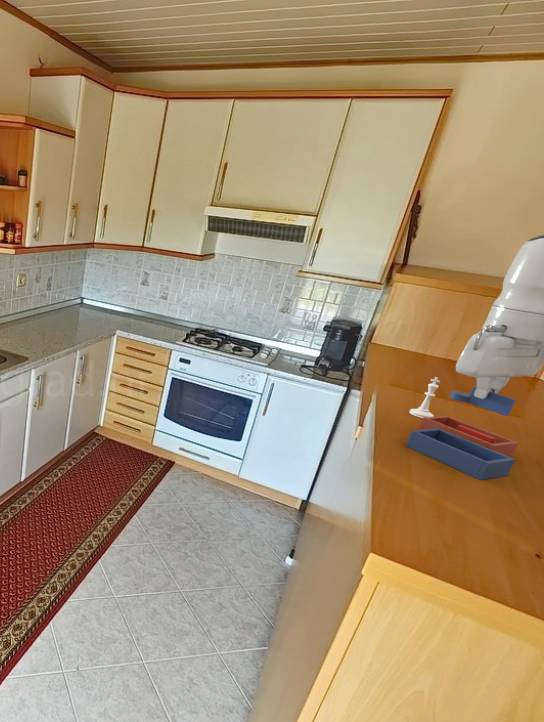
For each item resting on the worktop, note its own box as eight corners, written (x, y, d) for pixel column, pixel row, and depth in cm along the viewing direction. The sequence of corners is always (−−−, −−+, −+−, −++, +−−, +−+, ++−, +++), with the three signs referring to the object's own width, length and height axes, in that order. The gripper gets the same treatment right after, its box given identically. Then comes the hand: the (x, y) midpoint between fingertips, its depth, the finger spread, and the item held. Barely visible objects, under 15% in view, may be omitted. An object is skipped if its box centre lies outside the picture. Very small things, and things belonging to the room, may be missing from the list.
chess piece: (407, 409, 124) (422, 372, 120) (430, 414, 122) (446, 377, 119) (411, 415, 120) (427, 377, 116) (435, 421, 118) (452, 382, 114)
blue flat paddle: (512, 415, 90) (520, 399, 89) (501, 416, 88) (509, 400, 87) (455, 395, 98) (462, 381, 97) (445, 396, 96) (452, 381, 95)
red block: (492, 451, 102) (498, 437, 101) (482, 452, 101) (489, 438, 100) (443, 431, 110) (448, 418, 109) (433, 432, 109) (439, 419, 108)
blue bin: (507, 475, 92) (515, 459, 91) (480, 480, 89) (489, 463, 88) (431, 442, 104) (437, 428, 103) (405, 445, 101) (411, 430, 100)
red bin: (511, 457, 101) (518, 442, 100) (487, 461, 98) (494, 445, 97) (440, 429, 113) (446, 415, 112) (417, 431, 110) (423, 417, 108)
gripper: (505, 329, 81) (470, 406, 85) (569, 331, 88) (534, 401, 93) (463, 320, 86) (432, 392, 91) (526, 323, 94) (495, 389, 99)
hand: (484, 397), depth 92 cm, fingers closed on blue flat paddle
